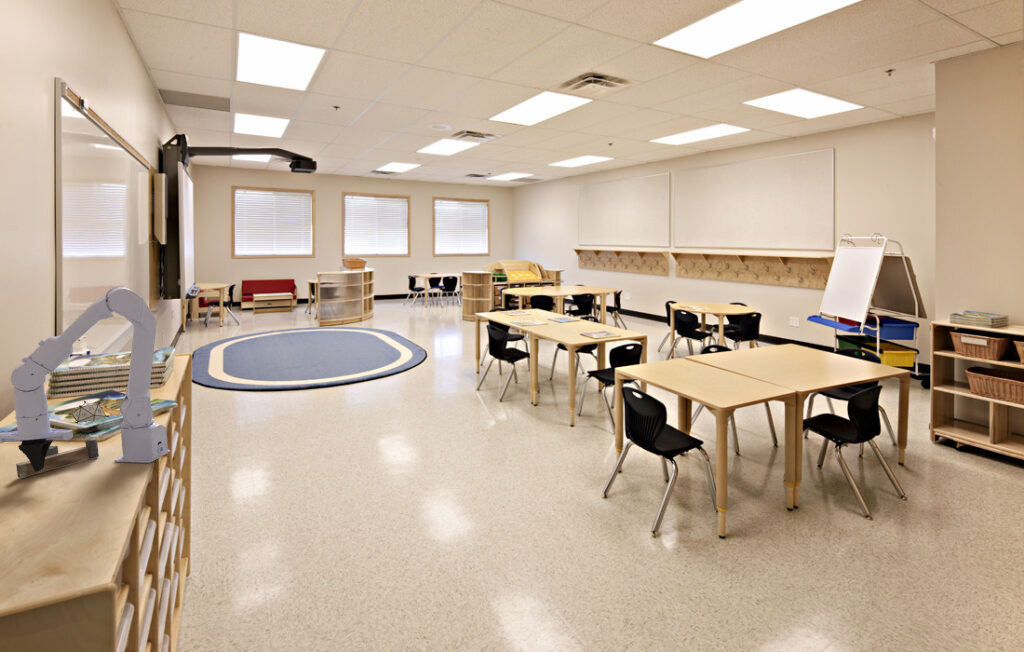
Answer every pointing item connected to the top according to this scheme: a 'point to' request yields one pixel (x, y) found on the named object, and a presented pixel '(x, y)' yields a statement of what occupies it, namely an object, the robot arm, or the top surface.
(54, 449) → the block
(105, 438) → the top surface
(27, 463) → the gate
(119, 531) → the top surface
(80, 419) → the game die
